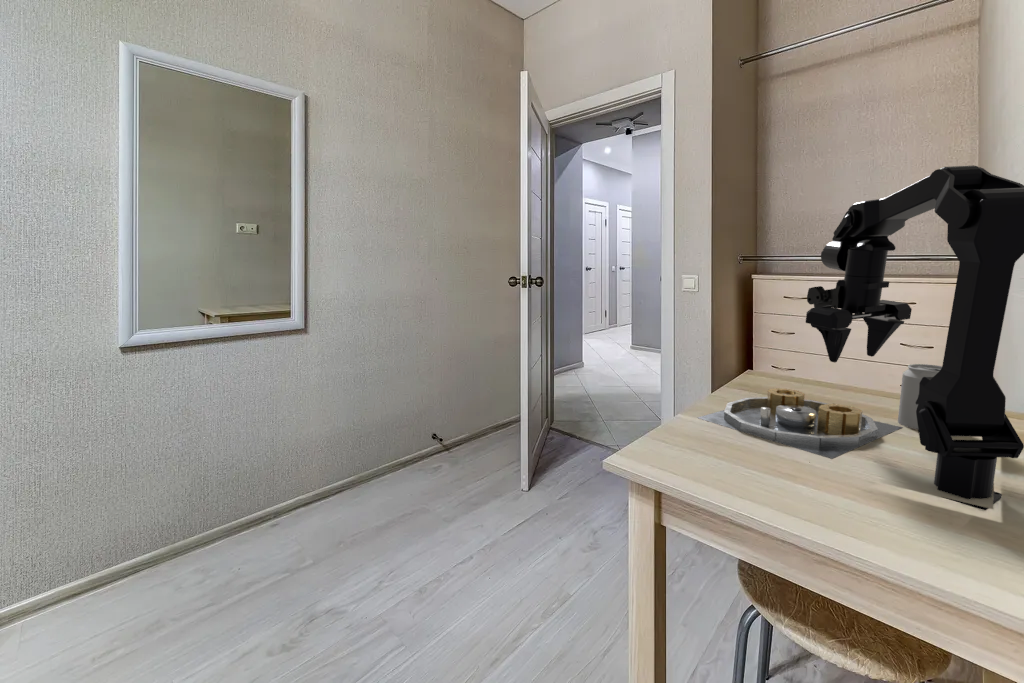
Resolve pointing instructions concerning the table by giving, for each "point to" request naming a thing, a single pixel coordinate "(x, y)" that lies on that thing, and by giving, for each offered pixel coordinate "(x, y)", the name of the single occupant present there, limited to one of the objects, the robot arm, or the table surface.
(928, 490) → the table surface
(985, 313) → the robot arm
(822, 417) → the hollow octagonal wooden tube
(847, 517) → the table surface
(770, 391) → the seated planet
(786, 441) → the tray
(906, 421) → the can
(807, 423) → the domed metal knob cap
